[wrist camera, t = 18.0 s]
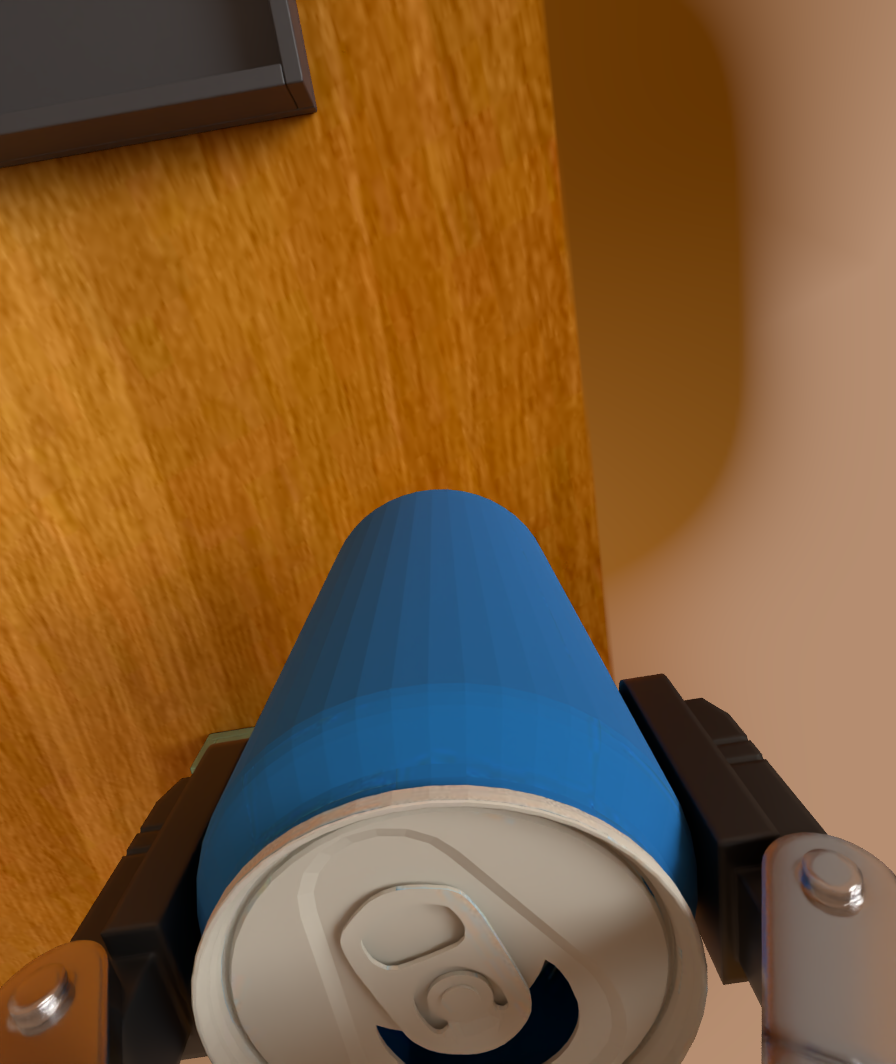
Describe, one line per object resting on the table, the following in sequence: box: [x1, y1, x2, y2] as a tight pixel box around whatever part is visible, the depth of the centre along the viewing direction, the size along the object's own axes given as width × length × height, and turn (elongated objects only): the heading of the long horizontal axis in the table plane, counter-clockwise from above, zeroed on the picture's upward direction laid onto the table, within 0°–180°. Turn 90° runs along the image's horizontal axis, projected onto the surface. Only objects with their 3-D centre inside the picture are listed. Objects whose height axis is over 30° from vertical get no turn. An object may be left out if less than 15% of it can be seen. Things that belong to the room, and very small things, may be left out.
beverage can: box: [191, 489, 707, 1064], centre depth 12 cm, size 6×6×12 cm
